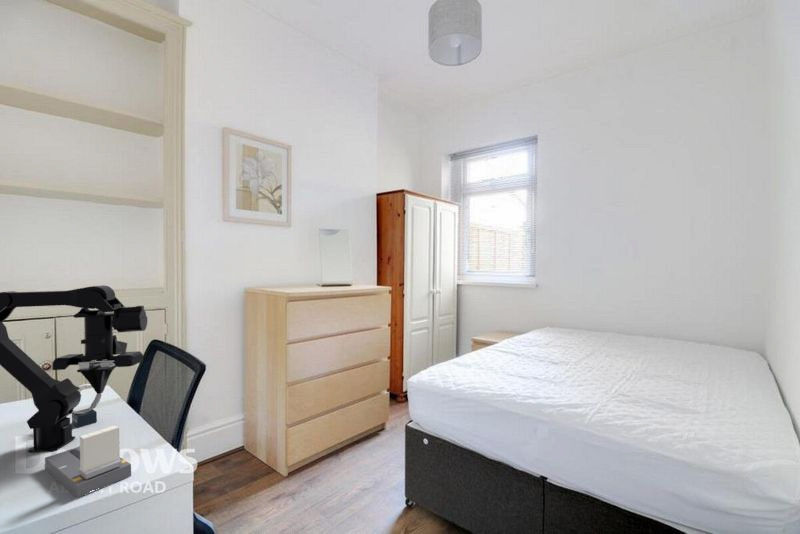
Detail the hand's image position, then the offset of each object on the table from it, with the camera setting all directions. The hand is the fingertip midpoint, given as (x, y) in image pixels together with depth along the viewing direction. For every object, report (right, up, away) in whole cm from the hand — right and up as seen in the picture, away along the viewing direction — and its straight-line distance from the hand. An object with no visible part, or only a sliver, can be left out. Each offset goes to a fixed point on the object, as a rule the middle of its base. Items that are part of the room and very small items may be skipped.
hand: (100, 393), depth 97 cm
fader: (+16, -9, -20) cm, 27 cm away
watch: (-13, -12, +10) cm, 21 cm away
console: (+10, -12, -16) cm, 22 cm away
